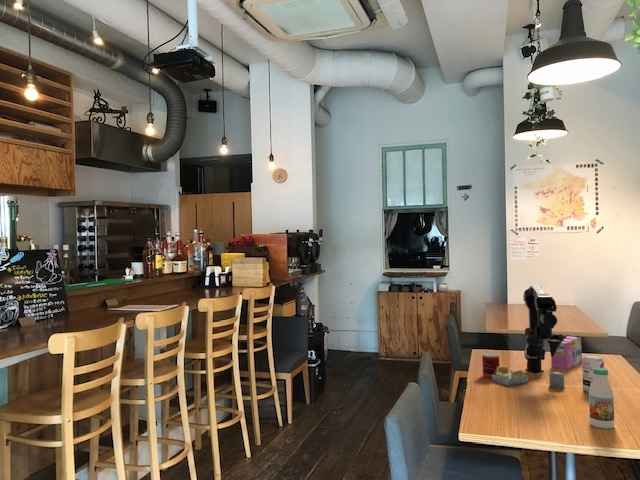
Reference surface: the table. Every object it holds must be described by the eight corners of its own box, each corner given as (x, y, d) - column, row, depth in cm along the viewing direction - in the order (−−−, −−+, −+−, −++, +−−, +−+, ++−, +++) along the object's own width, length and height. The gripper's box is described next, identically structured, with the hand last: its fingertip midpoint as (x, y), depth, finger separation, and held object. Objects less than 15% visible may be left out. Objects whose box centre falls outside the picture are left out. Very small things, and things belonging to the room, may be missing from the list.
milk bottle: (584, 422, 180) (583, 366, 180) (605, 420, 181) (603, 365, 181) (598, 430, 173) (597, 372, 173) (619, 428, 173) (618, 371, 173)
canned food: (497, 374, 245) (496, 352, 245) (501, 379, 237) (500, 356, 237) (481, 374, 246) (480, 352, 246) (484, 379, 238) (484, 356, 238)
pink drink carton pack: (567, 359, 273) (567, 334, 273) (583, 361, 268) (582, 336, 268) (551, 367, 256) (550, 341, 256) (567, 370, 251) (566, 343, 251)
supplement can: (606, 391, 215) (606, 356, 215) (601, 395, 209) (600, 360, 209) (586, 387, 221) (585, 353, 221) (580, 392, 215) (579, 357, 215)
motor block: (514, 376, 241) (514, 364, 241) (530, 381, 232) (530, 369, 232) (492, 380, 235) (491, 367, 235) (507, 385, 226) (507, 372, 226)
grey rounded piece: (556, 384, 227) (555, 370, 227) (567, 387, 221) (567, 373, 222) (546, 386, 225) (546, 372, 225) (557, 389, 219) (557, 375, 219)
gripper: (542, 319, 237) (543, 352, 237) (516, 323, 228) (516, 357, 228) (564, 322, 227) (564, 356, 227) (537, 326, 218) (538, 362, 218)
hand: (545, 357), depth 225 cm, fingers open, 9 cm apart
